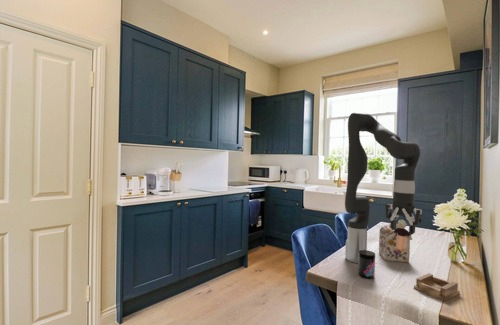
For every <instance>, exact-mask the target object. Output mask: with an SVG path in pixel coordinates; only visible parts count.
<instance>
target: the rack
mask: <svg viewBox="0 0 500 325" xmlns="http://www.w3.org/2000/svg"><path fill="white" fill-rule="evenodd" d="M413 289H415V290H416V291H417V290H418V291H420V292H422V293H425V294H426V295H429V296H431V297H434V298H437V299H439V300H442V301H444V302H446V301H449V300H450V299H452V298H454V297H455V296H457V295H459V294H460V293H461V292H460V290H459V288H458V283H457V282H456V281H451V282H450V281H449V280H448V281H447V280H446V279H442V278H439V277H437V276H434V274H432V273H426V274H423V275H421V276H419V277H416V284H415V285H414V286H413Z"/></svg>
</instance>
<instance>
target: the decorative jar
mask: <svg viewBox="0 0 500 325" xmlns="http://www.w3.org/2000/svg"><path fill="white" fill-rule="evenodd" d="M397 228H399V226H398V223H396V229H397ZM393 232H394V230H392V228H391V223H389V225H383V226H381V227H380V229H379V237H378V253H379V255H380V256H381V257H382V258H383V259H384V261H389V262H399V263H410V254H411V253H410V252H411V251H410V250H411V246H410V245H411V244H410V243H411V240H410V239H409V237H408V236H407V235H406V252H401V251H400V250H395V249H394V247H396V239H397V234H398V233H396V234H395V236H393V235H392V234H393Z"/></svg>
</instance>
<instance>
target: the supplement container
mask: <svg viewBox="0 0 500 325" xmlns="http://www.w3.org/2000/svg"><path fill="white" fill-rule="evenodd" d="M357 269H358V272H357V273H358V276H359V277H360V278H363V279H365V280H366V279H367V280H372V279H375V275H376V273H375V272H376V253H375V252H374V251H371V250H368V249H367V250H360V251H359V263H358V268H357Z"/></svg>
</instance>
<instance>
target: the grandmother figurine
mask: <svg viewBox="0 0 500 325" xmlns="http://www.w3.org/2000/svg"><path fill="white" fill-rule="evenodd" d="M397 224H398V226H399V228H397V229H395V230H394V232H393V234H392V235H393V236H395V234H396V233H398V234H397V239H396V247H394V249H395V250H400V251H401V252H406V235H407V236H408V237H409V239H410V241H412V240H413V238H412V235H411V234H409V230H407V229H406V227H407V226H409V225H408V224H407V222H406V221H405V220H404V219H398V221H397Z"/></svg>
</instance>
